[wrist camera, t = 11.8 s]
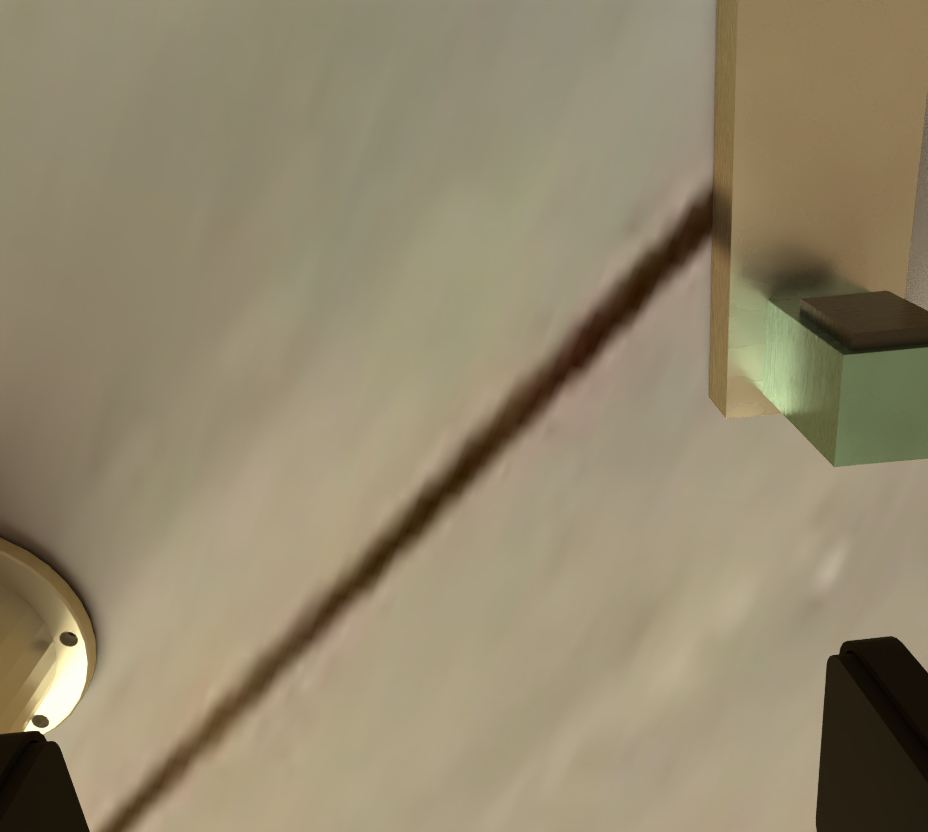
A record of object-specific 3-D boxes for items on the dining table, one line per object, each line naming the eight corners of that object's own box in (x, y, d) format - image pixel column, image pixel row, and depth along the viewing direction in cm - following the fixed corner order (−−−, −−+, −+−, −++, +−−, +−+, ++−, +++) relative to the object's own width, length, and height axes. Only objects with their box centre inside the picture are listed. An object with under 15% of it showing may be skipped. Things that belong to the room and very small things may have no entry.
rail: (709, 397, 38) (788, 496, 29) (723, -349, 28) (852, -540, 19) (865, 382, 38) (992, 478, 29) (937, -372, 28) (1166, -575, 19)
